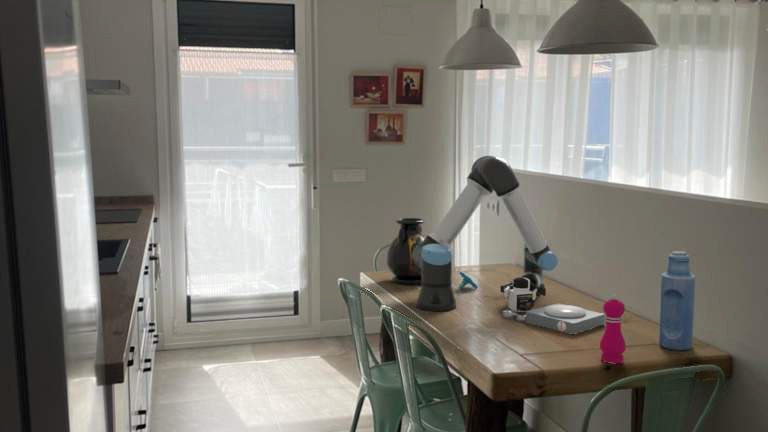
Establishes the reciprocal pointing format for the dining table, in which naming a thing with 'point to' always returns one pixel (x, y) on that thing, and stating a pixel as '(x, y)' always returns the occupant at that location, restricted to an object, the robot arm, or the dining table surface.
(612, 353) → the pepper mill
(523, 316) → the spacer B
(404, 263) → the amphora vase
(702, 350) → the dining table surface
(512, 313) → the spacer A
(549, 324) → the scale
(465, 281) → the gear
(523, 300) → the medicine bottle
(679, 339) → the bottle
